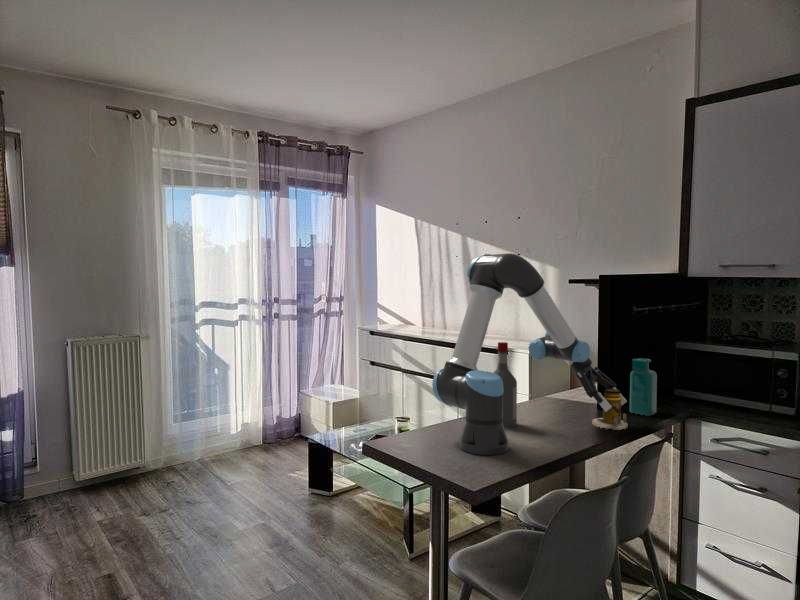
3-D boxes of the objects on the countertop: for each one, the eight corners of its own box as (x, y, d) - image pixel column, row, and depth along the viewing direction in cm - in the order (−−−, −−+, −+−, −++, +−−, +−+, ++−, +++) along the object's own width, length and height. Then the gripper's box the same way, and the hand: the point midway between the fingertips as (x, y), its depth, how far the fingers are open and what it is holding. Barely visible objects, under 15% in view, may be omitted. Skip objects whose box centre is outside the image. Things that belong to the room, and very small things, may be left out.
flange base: (599, 429, 186) (599, 418, 186) (587, 421, 198) (587, 410, 198) (633, 430, 186) (633, 418, 186) (619, 421, 198) (619, 410, 198)
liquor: (510, 420, 198) (511, 341, 197) (518, 427, 189) (518, 344, 188) (486, 421, 197) (487, 341, 196) (492, 427, 188) (493, 344, 187)
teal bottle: (635, 409, 216) (636, 356, 216) (657, 413, 210) (658, 358, 210) (626, 413, 209) (627, 358, 209) (648, 417, 203) (649, 360, 203)
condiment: (623, 425, 187) (623, 392, 187) (597, 424, 189) (598, 390, 189) (620, 420, 194) (620, 388, 194) (595, 419, 196) (596, 387, 196)
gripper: (585, 363, 211) (623, 407, 201) (554, 370, 194) (594, 418, 183) (598, 351, 207) (637, 395, 197) (568, 357, 190) (609, 405, 179)
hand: (616, 406), depth 190 cm, fingers open, 12 cm apart
